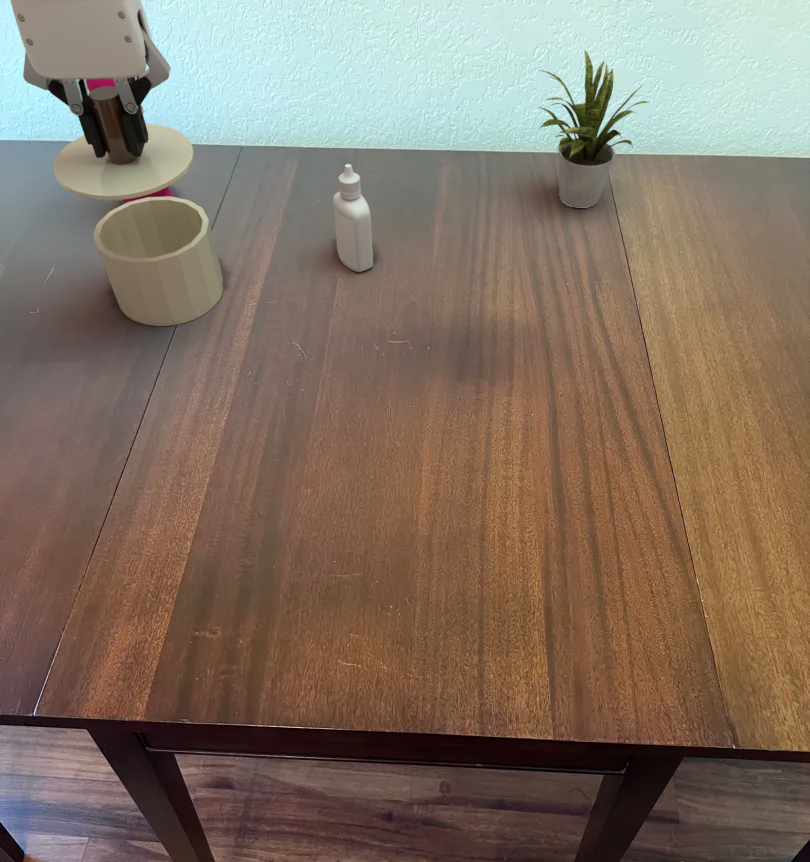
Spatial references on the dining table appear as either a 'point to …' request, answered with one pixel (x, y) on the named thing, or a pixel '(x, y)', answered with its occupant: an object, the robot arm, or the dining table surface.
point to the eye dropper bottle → (352, 223)
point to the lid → (122, 157)
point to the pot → (160, 260)
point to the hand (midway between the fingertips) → (121, 148)
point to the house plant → (587, 140)
